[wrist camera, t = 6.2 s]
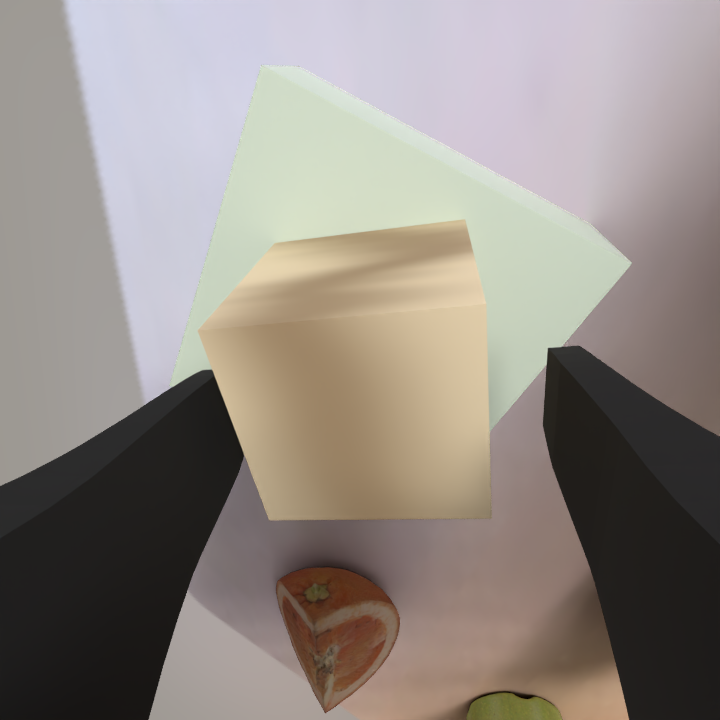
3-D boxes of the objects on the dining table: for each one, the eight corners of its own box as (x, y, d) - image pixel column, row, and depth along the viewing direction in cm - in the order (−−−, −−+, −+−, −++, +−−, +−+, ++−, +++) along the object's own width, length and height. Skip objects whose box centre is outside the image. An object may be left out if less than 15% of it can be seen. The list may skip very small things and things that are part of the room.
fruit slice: (275, 522, 24) (243, 617, 20) (404, 535, 24) (399, 636, 19) (289, 613, 29) (266, 707, 25) (399, 626, 28) (394, 725, 24)
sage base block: (586, 219, 15) (632, 263, 12) (432, 427, 20) (432, 499, 17) (301, 65, 14) (261, 65, 10) (214, 329, 19) (169, 385, 16)
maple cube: (465, 219, 12) (486, 303, 7) (472, 384, 14) (491, 518, 10) (274, 242, 13) (197, 330, 8) (313, 394, 15) (269, 520, 11)
